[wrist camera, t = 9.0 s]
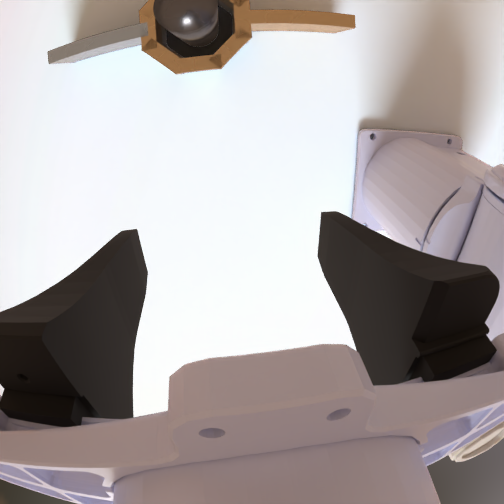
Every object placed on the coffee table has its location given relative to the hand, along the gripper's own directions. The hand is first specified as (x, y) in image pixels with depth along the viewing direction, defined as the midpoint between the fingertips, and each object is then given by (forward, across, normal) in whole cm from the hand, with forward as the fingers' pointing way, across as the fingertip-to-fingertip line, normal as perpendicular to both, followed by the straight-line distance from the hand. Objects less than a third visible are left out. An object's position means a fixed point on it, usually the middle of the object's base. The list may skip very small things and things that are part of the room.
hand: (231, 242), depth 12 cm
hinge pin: (+10, +1, -9) cm, 14 cm away
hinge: (+10, +1, -9) cm, 14 cm away
